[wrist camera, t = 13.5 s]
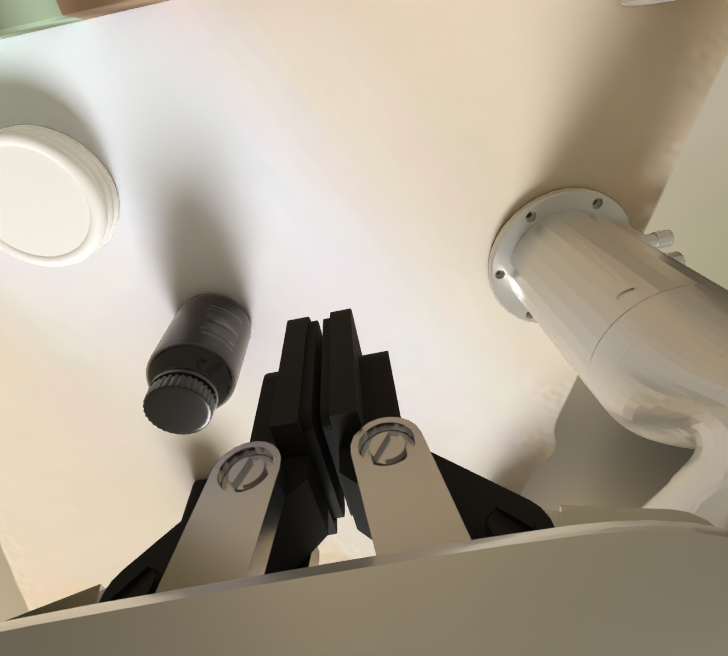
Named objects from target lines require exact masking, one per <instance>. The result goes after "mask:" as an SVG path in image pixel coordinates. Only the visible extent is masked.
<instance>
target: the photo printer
mask: <svg viewBox="0 0 728 656" xmlns="http://www.w3.org/2000/svg"><path fill="white" fill-rule="evenodd" d="M669 1H675V0H620V5H627V6H639V5H648V4H655V3H662V2H669Z"/></svg>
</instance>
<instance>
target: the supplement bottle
mask: <svg viewBox="0 0 728 656" xmlns="http://www.w3.org/2000/svg"><path fill="white" fill-rule="evenodd" d="M250 334H251V325H250V321H249V318H248V316H247V314H246V313H245V311H244V310H243V309H242V308H241V307H240V306H239V305H238V304H237V303H235V302H234V301H232V300H231V299H229V298H226V297H224V296H220V295H215V294H204V295H198V296H195V297H193V298H191V299H189V300H188V301H186V302H185V303H184V304H183V305H182V306H181V307H180V309H179V310H178V312H177V314H176V315H175V317H174V318H173V320H172V322H171V323H170V325H169V327H168V328H167V330H166V332H165V333H164V335H163V337H162V339H161V340H160V342H159V344H158V345H157V347H156V349H155V350H154V352H153V354H152V355H151V357H150V359H149V361H148V364H147V368H146V378H147V383H148V386H149V389H148V392H147V394H146V396H145V398H144V401H143V402H144V404H143V408H144V412H145V415H146V417H147V418H148V419H149V421H151V422H152V424H153V425H155V426H157V427H158V428H160V429H162V430H164V431H167V432H169V433H175V434H183V435H184V434H191V433H196V432H197V431H201V429H203V428H205V427H206V425H208V424H209V422H210V420H211V418H212V416H213V413H214V411H215V410H216V409H217V408H219V407H220V406H222V405H223V404H225V403H226V402H227V401H228V400H229V398H230V397H231V396H232V394H233V392H234V390H235V387H236V384H237V380H238V377H239V374H240V370H241V367H242V363H243V360H244V356H245V353H246V350H247V346H248V342H249V339H250Z"/></svg>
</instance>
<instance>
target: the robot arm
mask: <svg viewBox="0 0 728 656" xmlns="http://www.w3.org/2000/svg"><path fill="white" fill-rule="evenodd" d="M594 200H595V201H594ZM593 201H594V202H593ZM528 213H530V214H529V216H527V214H528ZM526 216H527V217H526ZM673 242H674V235H673V233H672V232H671V231H670V230H663V231H659V232H654V233H651V234H647V235H644V234H643V233H641V232H639V231H637V230H636V229H634V228H632V227H631V223H630V220H629V218H628V216H627V214H626V213H625V211H624V210H623V208H622V207H621V206H620V205H619V204H618V203H617V202H616V201H614V200H612V199H611V198H609V197H608V196H606V195H604V194H602V193H599V192H597V191H595V190H590V189H585V188H565V189H560V190H555V191H552V192H549V193H547V194H544V195H541V196H539V197H537V198H536V199H534V200H532V201H531V202H529V203H527V204H526V205H524V206H523V207H522V208H521V209H520V210H518V211H517V212H516V213H515V214H514V215H513V216H512V217H511V218H510V219H509V220H508V221H507V223H506V224H505V225H504V226H503V228H502V229H501V231H500V233H499V234H498V236H497V237H496V240H495V242H494V244H493V247H492V249H491V253H490V258H489V262H488V277H489V281H490V286H491V288H492V291H493V293H494V295H495V297H496V298H497V300H498V301H499V302H500V304H501V305H502V306H503V307H504V308H505V309H506V310H507V311H508V312H509V313H511V314H512V315H514V316H515V317H517V318H519V319H522V320H524V321H528V322H533V323H538V324H539V325H540V327H541V328H542V329H543V330H544V332H545V333H546V334H547V335H548V337H549V338H550V339H551V341H552V342H553V343H554V344H555V346H556V347H557V348H558V350H559V351H560V352H561V353H562V355H563V356H564V357H565V359H566V360H567V361H568V362H569V364H570V365H571V366H572V367H573V369H574V370H575V371H576V373H577V374H578V375H579V376H580V378H581V379H582V380H583V382H584V383H585V384H586V385H587V387H588V388H589V389H590V391H591V392H592V393H593V394H594V396H595V397H596V398H597V399H598V401H599V402H600V403H601V404H602V406H603V407H604V408H605V409H606V411H607V412H608V413H609V414H610V415H611V416H612V417H613V418H614V419H615V420H616V421H617V422H619V423H620V424H621V425H622V426H624V427H625V428H627V429H629V430H630V431H632V432H634V433H636V434H638V435H640V436H642V437H645V438H648V439H651V440H654V441H657V442H660V443H665V444H669V445H674V446H679V447H686V448H692V449H695V451H694V454H693V455H692V457H691V458H690V460H689V461H688V462H687V463H686V464H685V465H684V466H683V467H682V468H681V469H680V470H679V471H678V473H676V474H675V475H674V476H673V477H672V478H671V480H670V482H669V483H668V484H667V485H666V486H665V487H664V488H663V489H661V490H660V491H659V492H658V493H657V494H656V495H655V496H654V497H653V498H652V499H650V500H649V501H648V502H647V503H646V504H645V505H644V506H643V507H642V508H623V507H595V506H569V505H568V506H567V505H560V511H544V510H543V509H542V508H541V507H539V506H538V505H536V504H535V503H533V502H532V501H530V500H528V499H526V498H524V497H522V496H520V495H518V494H516V493H514V492H512V491H510V490H508V489H506V488H504V487H502V486H500V485H498V484H496V483H494V482H492V481H489V480H487V479H485V478H483V477H481V476H479V475H477V474H475V473H473V472H471V471H469V470H467V469H465V468H463V467H461V466H459V465H457V464H455V463H453V462H451V461H449V460H446V459H444V458H442V457H440V456H438V455H436V454H434V453H432V452H430V450H429V447H428V445H427V443H426V441H425V439H424V437H423V434H422V432H421V431H420V430H419V428H418V427H417V426H416V425H415V424H413V423H412V422H410V421H409V420H406V419H403V418H401V416H400V411H399V406H398V401H397V395H396V390H395V385H394V380H393V375H392V369H391V364H390V359H389V354H388V351H384V352H379V353H373V354H368V355H363V356H362V353H361V348H360V344H359V340H358V336H357V331H356V327H355V323H354V318H353V314H352V310H351V308H350V309H345V310H340V311H335V312H330V318H327V319H323V336H322V332H321V329H320V325H319V322H318V321H312V322H311V320H310V318H309V317H304V318H299V319H294V320H289V321H288V322H287V326H286V332H285V338H284V344H283V349H282V355H281V361H280V367H279V372H273V373H268V374H266V375H265V376H264V379H263V384H262V388H261V393H260V398H259V402H258V407H257V411H256V416H255V421H254V425H253V430H252V434H251V439H250V442H249V443H245V444H242V445H240V446H237V447H235V448H233V449H232V450H230V451H229V452H227V453H226V454H225V455H224V456H223V457H222V458H221V459H220V460H219V461H218V462H217V463H216V465H215V466H214V468H213V469H212V471H211V473H210V476H209V478H208V480H207V482H206V484H205V486H204V488H203V491H202V493H201V495H200V497H199V499H198V501H197V504H196V506H195V508H194V510H193V512H191V513H190V514H189V515H188V516H187V517H185V518H184V519H183V520H182V521H181V522H179V523H178V524H177V525H176V526H175V527H174V528H172V529H171V530H170V531H169V532H168V533H166V534H165V535H164V536H163V537H162V538H160V539H159V540H158V541H157V542H156V543H154V544H153V545H152V546H151V547H150V548H149V549H147V550H146V551H145V552H144V553H143V554H141V555H140V556H139V557H138V558H137V559H135V560H134V561H133V562H132V563H131V564H130V565H128V566H127V567H126V568H125V569H124V570H122V571H121V572H120V573H119V574H118V575H117V576H116V577H115V578H114V579H113V580H112V582H111V583H110V584H109V586H108V587H107V588H106V589H105V588H104V587H103V586H102V585H101V584H99V585H97V586H94V587H92V588H89V589H86V590H84V591H81V592H79V593H76V594H74V595H71V596H68V597H66V598H63V599H61V600H58V601H55V602H53V603H50V604H48V605H45V606H43V607H40V608H37V609H35V610H32V611H30V612H27V613H25V614H22V615H20V616H17V617H14V618H12V619H9V620H7V621H4V622H0V656H728V290H727V289H725V288H723V287H721V286H720V285H718V284H716V283H715V282H713V281H711V280H709V279H708V278H706V277H704V276H702V275H701V274H699V273H697V272H696V271H694V270H692V269H691V268H689V267H687V266H686V265H685V259H684V256H683V255H682V254H681V253H680V252H672V253H666V254H665V253H663V252H661V251H660V250H658V249H657V248H663V247H668V246H671V245H672V244H673ZM497 271H499V272H498V273H496V272H497ZM344 496H345V499H346V502H347V505H348V508H349V511H350V514H351V516H352V515H353V517H354V520H355V523H356V526H357V529H358V530H359V531H360V532H362V533H363V534H365V535H366V536H367V537H369V538H370V539H372V540H373V544H374V548H375V552H376V556H371V557H365V558H359V559H353V560H347V561H341V562H335V563H330V564H324V565H318V564H319V549H318V545H319V544H320V543H321V542H322V541H323V540H324V539H325V537H326V536H327V535H331V534H337V518H340V517H344V515H345V500H344Z"/></svg>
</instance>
